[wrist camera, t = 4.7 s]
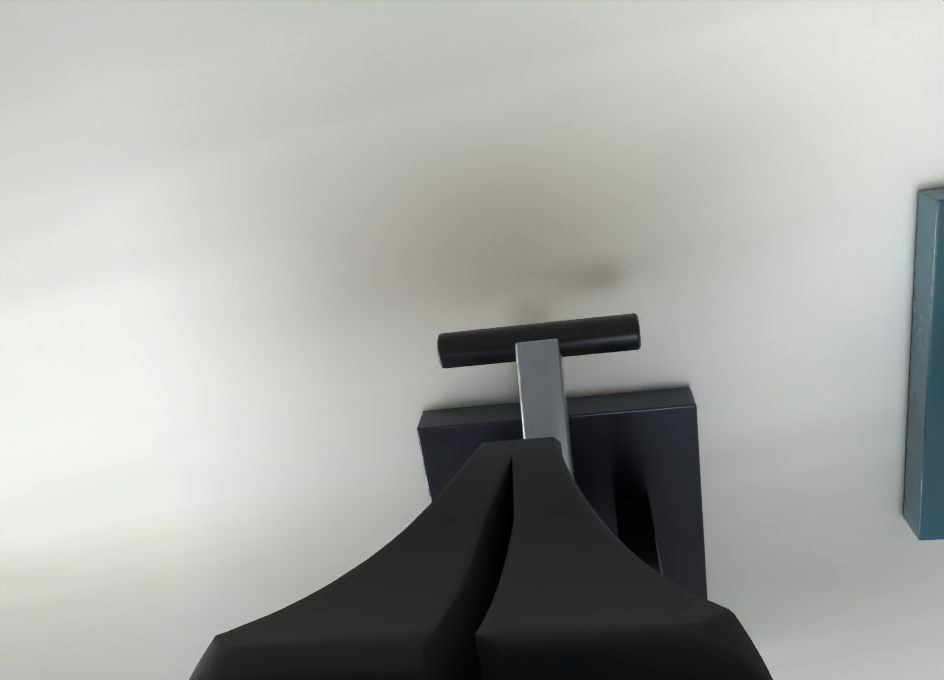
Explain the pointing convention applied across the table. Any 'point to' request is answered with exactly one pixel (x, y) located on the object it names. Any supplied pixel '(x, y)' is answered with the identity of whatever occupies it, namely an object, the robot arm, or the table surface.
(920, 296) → the button box
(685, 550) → the bracket
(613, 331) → the lever
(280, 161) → the table surface
